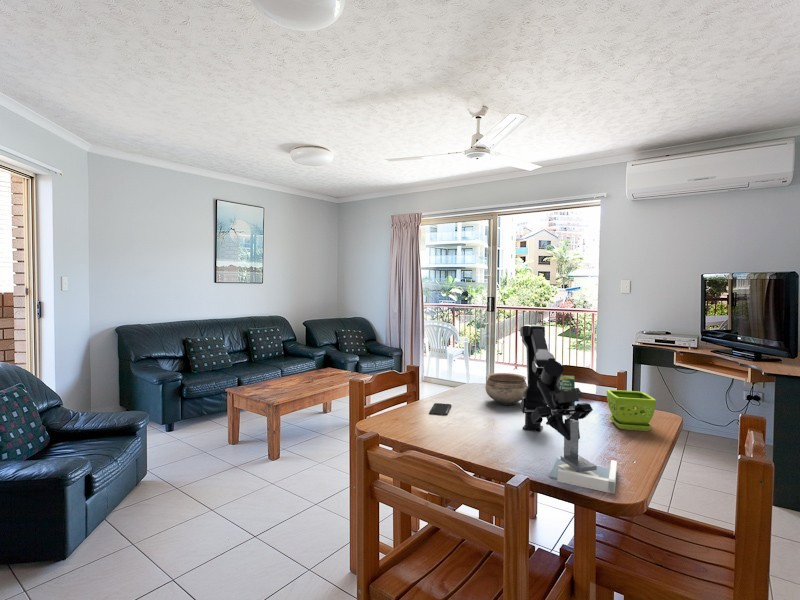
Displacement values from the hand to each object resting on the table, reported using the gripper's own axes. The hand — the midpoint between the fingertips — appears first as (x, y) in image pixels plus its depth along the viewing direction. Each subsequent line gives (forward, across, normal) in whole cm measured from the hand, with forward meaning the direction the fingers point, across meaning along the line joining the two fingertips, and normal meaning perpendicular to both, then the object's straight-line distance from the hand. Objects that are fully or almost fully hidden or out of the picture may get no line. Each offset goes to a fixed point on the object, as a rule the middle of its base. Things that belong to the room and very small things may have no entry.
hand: (574, 439), depth 123 cm
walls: (+10, +1, +3) cm, 10 cm away
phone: (-40, -16, +54) cm, 69 cm away
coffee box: (-36, +43, +49) cm, 74 cm away
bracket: (+6, 0, +4) cm, 7 cm away
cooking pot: (-42, +18, +55) cm, 71 cm away
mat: (+8, 0, +4) cm, 9 cm away
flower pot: (-12, +47, +26) cm, 55 cm away
